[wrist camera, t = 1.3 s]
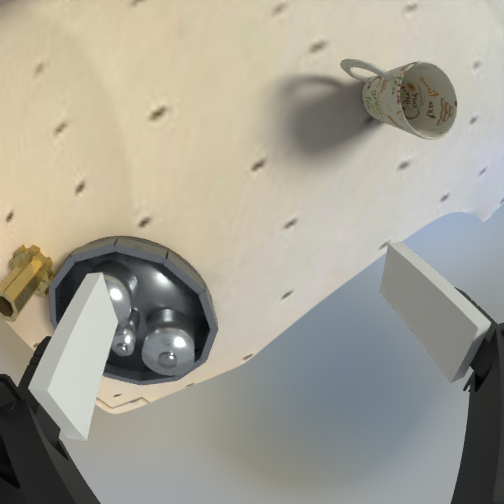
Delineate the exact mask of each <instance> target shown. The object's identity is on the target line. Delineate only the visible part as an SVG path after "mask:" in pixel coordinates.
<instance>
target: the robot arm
mask: <svg viewBox="0 0 504 504" xmlns="http://www.w3.org/2000/svg"><path fill="white" fill-rule="evenodd" d="M380 293H381V294H382V295H383V296H384V298H385V299H386V300H387V301H388V303H389V304H390V305H391V306H392V307H393V309H394V310H395V311H396V312H397V314H398V315H399V316H400V317H401V318H402V320H403V321H404V322H405V323H406V325H407V326H408V327H409V328H410V330H411V331H412V332H413V333H414V335H415V336H416V337H417V339H418V340H419V341H420V342H421V344H422V345H423V346H424V348H425V349H426V350H427V352H428V353H429V354H430V356H431V357H432V358H433V359H434V361H435V362H436V364H437V365H438V366H439V368H440V369H441V370H442V372H443V373H444V374H445V376H446V377H447V379H448V380H449V381H450V383H452V382H454V381H456V380H458V379H460V378H462V377H464V375H465V374H466V372H467V370H468V368H469V367H470V366H471V368H472V369H473V370H474V371H473V373H472V375H471V376H470V378H469V380H468V381H467V383H466V385H465V386H464V389H463V391H465V390H466V389H467V387H468V386H469V385H470V390H469V392H470V396H469V408H468V419H467V426H466V434H465V441H464V447H463V453H462V459H461V464H460V468H459V473H458V477H457V482H456V486H455V490H454V494H453V498H452V501H451V504H504V323H500V324H497V323H496V322H495V321H494V320H493V319H492V318H491V317H490V316H489V315H488V314H487V313H485V311H484V310H483V309H481V308H480V307H479V306H477V304H476V303H475V302H474V301H472V300H471V298H470V297H469V296H468V295H466V294H465V293H464V292H463V291H461V290H459V289H457V288H455V287H453V286H452V285H451V284H450V283H449V282H448V281H446V280H445V279H444V278H443V277H442V276H441V275H440V274H439V273H437V272H436V271H435V270H434V269H433V268H431V267H430V266H429V265H428V264H427V263H426V262H425V261H423V260H422V259H421V258H420V257H419V256H417V255H416V254H415V253H414V252H413V251H411V250H410V249H409V248H408V247H406V246H405V245H404V244H403V243H401V242H396V243H388V248H387V255H386V261H385V266H384V272H383V277H382V282H381V287H380ZM117 324H118V320H117V317H116V314H115V311H114V308H113V305H112V302H111V299H110V296H109V293H108V290H107V287H106V284H105V280H104V277H103V274H102V272H101V273H90V274H87V275H86V277H85V278H84V280H83V282H82V283H81V285H80V287H79V288H78V290H77V292H76V294H75V295H74V297H73V299H72V301H71V302H70V304H69V306H68V308H67V309H66V311H65V313H64V315H63V317H62V319H61V320H60V322H59V324H58V326H57V328H56V330H55V332H54V334H53V336H46V337H45V338H44V339H43V341H42V342H41V343H40V344H39V345H38V346H37V348H36V350H35V352H34V354H33V357H32V358H31V360H30V362H29V363H30V364H29V365H28V366H27V368H26V370H25V373H24V375H23V377H22V379H21V381H20V383H19V386H18V388H17V386H16V385H15V384H14V382H13V381H12V379H11V378H10V376H8V375H6V374H0V504H100V502H99V501H98V499H97V498H96V496H95V495H94V494H93V492H92V490H91V489H90V487H89V486H88V485H87V483H86V481H85V480H84V478H83V477H82V475H81V474H80V472H79V470H78V469H77V467H76V465H75V464H74V462H73V460H72V459H71V457H70V455H69V453H68V452H67V450H66V448H65V446H64V444H63V443H62V441H61V440H60V439H59V433H60V430H62V432H63V433H64V434H65V435H66V436H67V437H68V438H70V439H77V440H87V437H88V432H89V427H90V423H91V418H92V414H93V409H94V406H95V401H96V397H97V393H98V390H99V386H100V382H101V378H102V374H103V371H104V367H105V364H106V360H107V357H108V353H109V350H110V347H111V343H112V340H113V337H114V334H115V331H116V328H117Z"/></svg>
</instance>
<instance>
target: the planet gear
mask: <svg viewBox="0 0 504 504" xmlns="http://www.w3.org/2000/svg"><path fill="white" fill-rule="evenodd" d="M14 254H15V255H16V257H15V256H14V257H13V258H12V259H11V260H10V263H9V268H11V269H12V271H11V272H10V273H9V274H8V275H7V276H6V278H5V279H4V280H3V281H2V282H1V283H0V316H1V317H2V318H3V319H5V320H7V321H15V320H16V318H17V317H18V315H19V314H20V313H21V311H22V310H23V308H24V307H25V305H26V304H27V303H28V301H29V300H30V298H31V297H32V296H33V294H39V295H40V297H43V296H46V295H47V293H48V292H49V285H50V283H51V282H52V281H53V279H54V278H55V275H53V273H52V269H51V266H52V265H53V263H52V261H51V259H50V257H48V258H46V257H45V256H44V255H43V254H42V253H41V252H40V248H39V247H37V246H34V245H33V246H32V247H31V248H30V249H26V248H25V247H24V245H23V246H21V247H19V248H18V249H17V250H16V251H15V252H14Z"/></svg>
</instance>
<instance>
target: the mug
mask: <svg viewBox="0 0 504 504" xmlns="http://www.w3.org/2000/svg"><path fill="white" fill-rule="evenodd" d="M340 66H341V68H342V69H343V70H344V71H345V72H346V73H348V74H349V75H350V76H351V77H353V78H356V79H358V80H360V81H362V82H365V85H364V87H363V90H362V102H363V105H364V107H365V109H366V111H367V112H368V113H369V114H370V115H371V116H372V117H373V118H375V119H377V120H379V121H382V122H384V123H387V124H389V125H392V126H394V127H397V128H399V129H402V130H404V131H407V132H409V133H411V134H414V135H416V136H418V137H421V138H424V139H429V140H434V139H439V138H441V137H443V136H444V135H446V134H447V133H448V132H449V131H450V129H451V128H452V126H453V124H454V121H455V118H456V114H457V99H456V94H455V90H454V87H453V85H452V83H451V81H450V79H449V78H448V76H447V75H446V74H445V73H444V71H443V70H442V69H440V68H439V67H438V66H436V65H434V64H432V63H430V62H425V61H418V62H413V63H410V64H407V65H404V66H401V67H398V68H396V69H393V70H390V71H385V70H384V69H382V68H380V67H378V66H376V65H374V64H372V63H369V62H365V61H361V60H357V59H345V60H342V61H341V63H340ZM351 67H358V68H363V69H366V70H369V71H372V72H374V73H376V74H378V75H377V76H374V77H372V78H370V79H367V78H365V77H364V76H362V75H361V74H359V73H357V72H356V71H355V70H353V69H352V68H351Z"/></svg>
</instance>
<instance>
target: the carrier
mask: <svg viewBox="0 0 504 504" xmlns="http://www.w3.org/2000/svg"><path fill="white" fill-rule="evenodd" d="M101 272H102V274H103V277H104V280H105V284H106V287H107V290H108V293H109V296H110V299H111V302H112V305H113V308H114V311H115V314H116V317H117V320H118V324H117V328H116V331H115V334H114V337H113V340H112V343H111V347H110V350H109V353H108V357H107V360H106V364H105V367H104V371H103V374H102V375H104V376H105V377H109V378H113V379H116V380H120V381H124V382H129V383H133V384H137V385H149V384H157V383H164V382H171V381H177V380H180V379H181V378H183V377H184V376H185V375H187V374H188V373H190V372H191V371H193V370H194V369H196V368H197V367H199V366H200V365H202V364H203V363H205V362H206V361H207V358H208V356H209V353H210V350H211V348H212V345H213V342H214V339H215V337H216V334H217V331H218V322H217V317H216V314H215V311H214V306H213V302H212V298H211V295H210V292H209V290H208V287H207V286H206V283H205V281H204V280H203V279H202V277H201V276H200V275H199V274H198V272H197V271H196V270H195V269H194V268H193V267H192V266H191V265H190V264H189V263H188V262H187V261H186V260H185V259H183V258H182V257H181V256H180V255H178V254H177V253H175V252H173V251H172V250H170V249H169V248H167V247H164V246H162V245H160V244H158V243H155V242H152V241H149V240H146V239H142V238H137V237H129V236H113V237H106V238H101V239H98V240H95V241H92V242H90V243H88V244H86V245H84V246H82V247H80V248H77V249H75V251H74V252H73V253H72V254H71V256H70V257H69V258H68V260H67V261H66V262H65V264H64V265H63V266H62V268H61V269H60V271H59V272H58V273H57V275H56V276H55V278H54V279H53V281H52V282H51V283H50V285H49V304H50V320H51V323H52V325H53V327H54V328H55V330H56V328H57V326H58V324H59V322H60V320H61V319H62V317H63V315H64V313H65V311H66V309H67V308H68V306H69V304H70V302H71V301H72V299H73V297H74V295H75V294H76V292H77V290H78V288H79V287H80V285H81V283H82V282H83V280H84V278H85V277H86V275H87V274H90V273H101Z"/></svg>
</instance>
